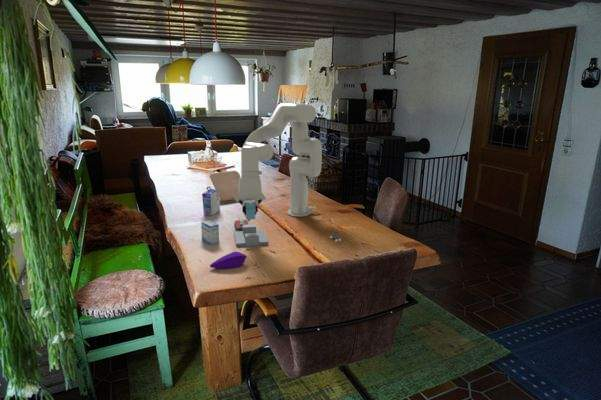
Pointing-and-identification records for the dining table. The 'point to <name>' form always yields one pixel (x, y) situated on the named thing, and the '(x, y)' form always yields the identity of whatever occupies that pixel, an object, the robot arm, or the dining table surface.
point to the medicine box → (210, 232)
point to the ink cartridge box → (211, 201)
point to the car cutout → (335, 236)
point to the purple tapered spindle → (229, 261)
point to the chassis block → (250, 236)
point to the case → (226, 185)
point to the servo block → (250, 210)
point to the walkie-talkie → (241, 224)
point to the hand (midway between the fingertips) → (250, 213)
